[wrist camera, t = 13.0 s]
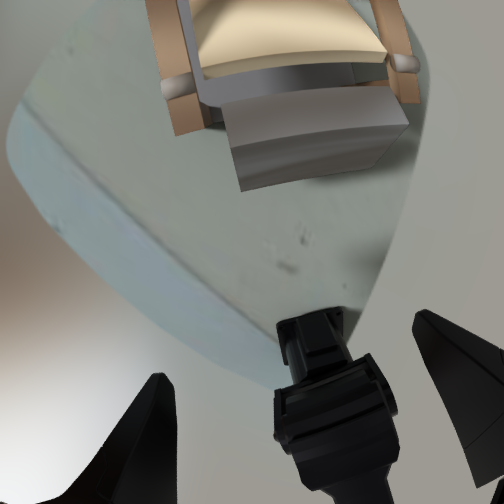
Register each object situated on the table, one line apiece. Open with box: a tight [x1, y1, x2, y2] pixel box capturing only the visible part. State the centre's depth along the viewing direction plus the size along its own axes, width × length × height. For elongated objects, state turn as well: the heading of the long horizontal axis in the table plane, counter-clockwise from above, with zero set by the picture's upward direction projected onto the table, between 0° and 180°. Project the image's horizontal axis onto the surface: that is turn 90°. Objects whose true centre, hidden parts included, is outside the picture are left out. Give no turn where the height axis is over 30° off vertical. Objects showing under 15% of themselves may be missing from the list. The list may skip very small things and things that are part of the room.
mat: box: [177, 0, 355, 123], centre depth 13 cm, size 12×11×1 cm
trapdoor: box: [189, 0, 409, 192], centre depth 12 cm, size 13×8×6 cm
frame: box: [145, 0, 421, 136], centre depth 10 cm, size 12×11×8 cm
